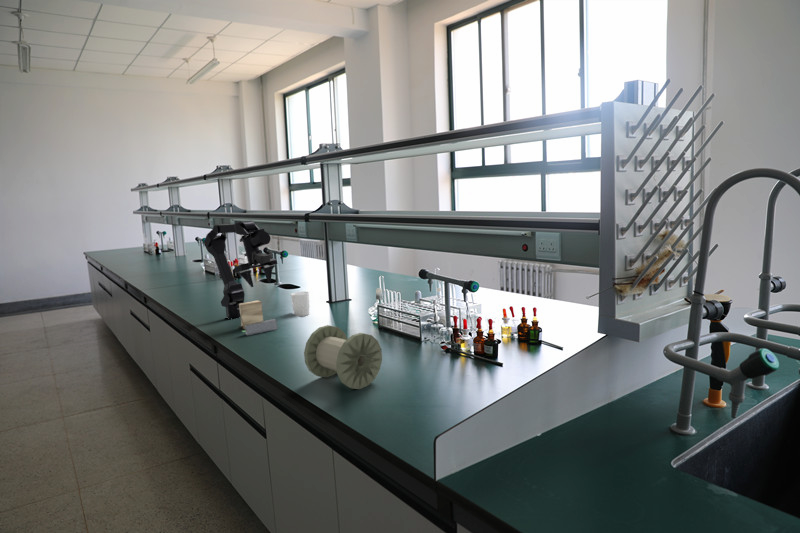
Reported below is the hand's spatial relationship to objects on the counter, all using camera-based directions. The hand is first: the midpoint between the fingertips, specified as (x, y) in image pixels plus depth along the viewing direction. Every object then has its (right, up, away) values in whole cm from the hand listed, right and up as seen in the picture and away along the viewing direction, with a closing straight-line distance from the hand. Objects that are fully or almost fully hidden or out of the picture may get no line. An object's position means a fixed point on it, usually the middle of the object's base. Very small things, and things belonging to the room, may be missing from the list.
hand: (261, 285), depth 222 cm
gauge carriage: (-2, -17, -7) cm, 18 cm away
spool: (+43, -25, -72) cm, 88 cm away
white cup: (+15, -14, +13) cm, 24 cm away
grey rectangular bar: (+5, -18, -17) cm, 25 cm away
